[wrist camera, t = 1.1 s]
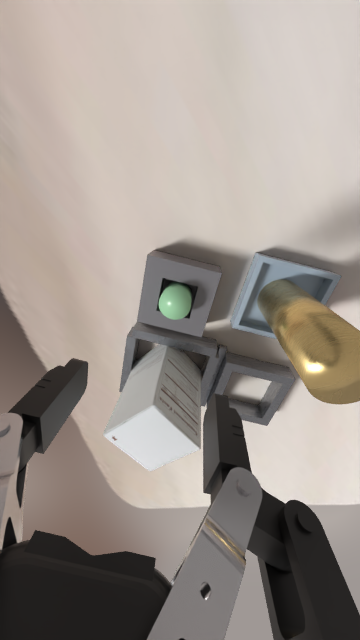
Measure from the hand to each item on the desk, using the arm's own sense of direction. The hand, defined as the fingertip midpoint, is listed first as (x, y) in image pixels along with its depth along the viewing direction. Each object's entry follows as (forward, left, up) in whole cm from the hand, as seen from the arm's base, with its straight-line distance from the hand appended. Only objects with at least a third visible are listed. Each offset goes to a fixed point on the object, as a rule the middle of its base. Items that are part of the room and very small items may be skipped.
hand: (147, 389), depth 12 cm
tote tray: (-2, +12, -18) cm, 21 cm away
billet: (-2, +12, -17) cm, 21 cm away
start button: (0, 0, -15) cm, 15 cm away
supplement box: (+12, +1, -18) cm, 22 cm away
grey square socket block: (0, 0, -18) cm, 18 cm away
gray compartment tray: (+12, +7, -18) cm, 23 cm away
